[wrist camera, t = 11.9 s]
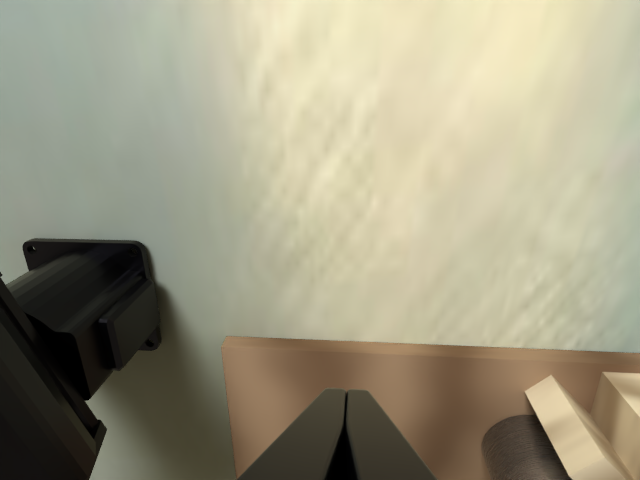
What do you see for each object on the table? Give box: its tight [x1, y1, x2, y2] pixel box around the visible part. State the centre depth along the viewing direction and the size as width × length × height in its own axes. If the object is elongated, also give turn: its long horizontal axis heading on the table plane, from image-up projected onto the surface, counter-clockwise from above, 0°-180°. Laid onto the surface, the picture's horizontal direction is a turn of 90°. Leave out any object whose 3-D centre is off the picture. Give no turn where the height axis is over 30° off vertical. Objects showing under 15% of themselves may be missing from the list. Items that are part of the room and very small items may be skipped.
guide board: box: [221, 336, 640, 480], centre depth 24 cm, size 23×11×1 cm, turn 91°
